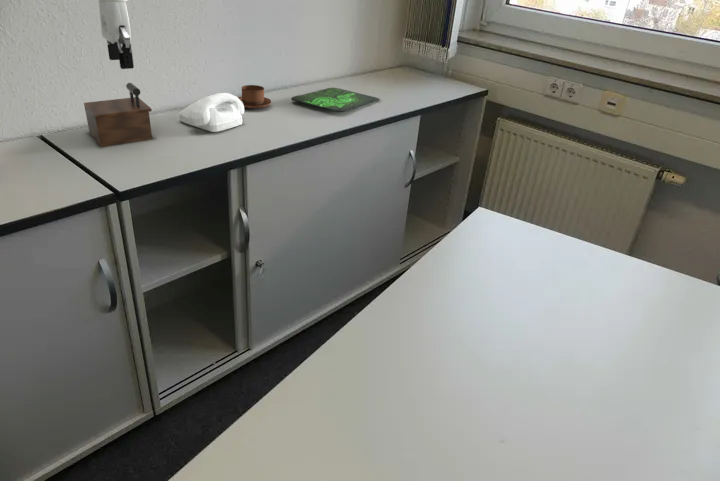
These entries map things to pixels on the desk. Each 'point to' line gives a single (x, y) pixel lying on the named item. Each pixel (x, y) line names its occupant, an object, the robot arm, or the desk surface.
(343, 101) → the mouse mat
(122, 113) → the lid
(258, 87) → the cup and saucer
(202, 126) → the telephone
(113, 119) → the box
